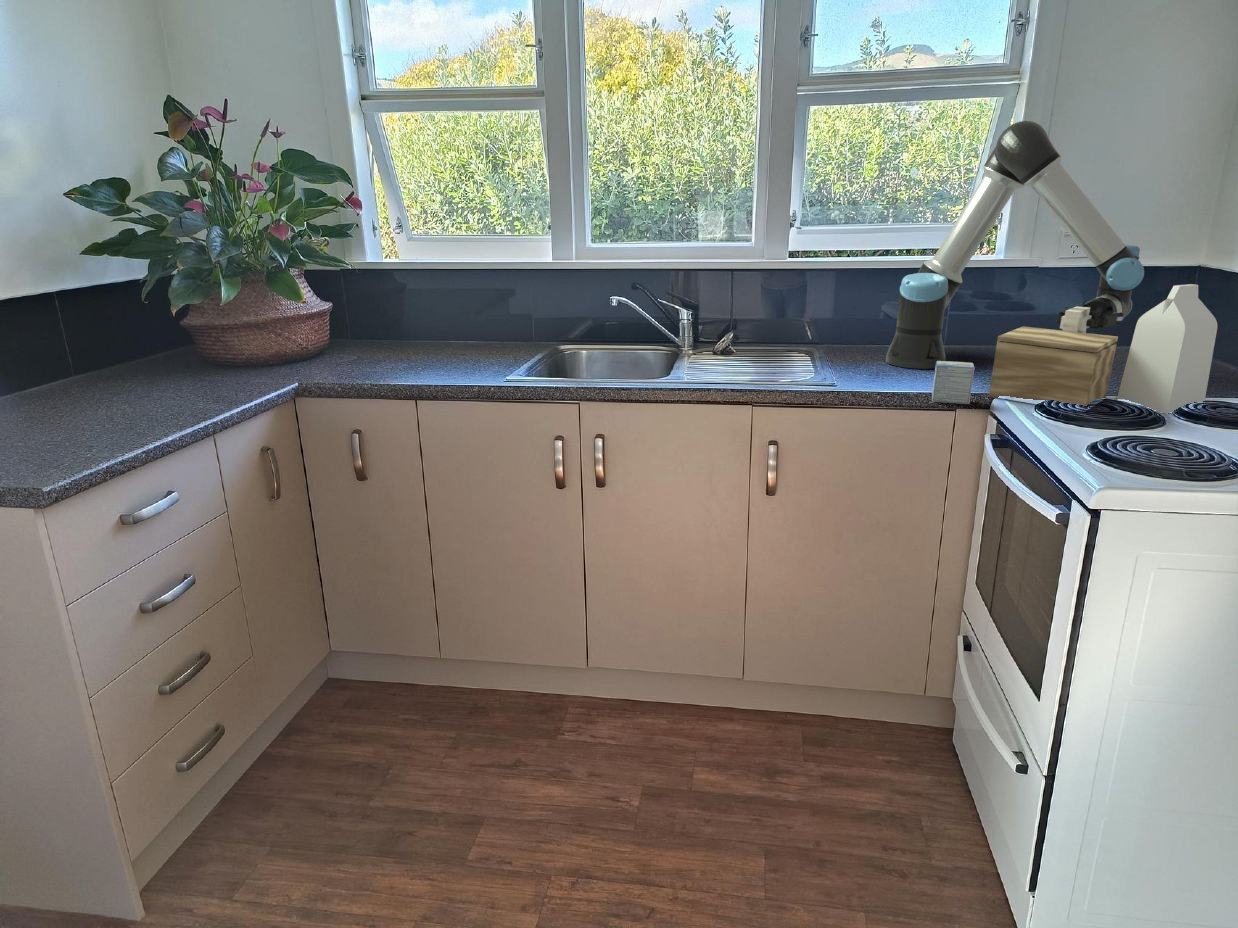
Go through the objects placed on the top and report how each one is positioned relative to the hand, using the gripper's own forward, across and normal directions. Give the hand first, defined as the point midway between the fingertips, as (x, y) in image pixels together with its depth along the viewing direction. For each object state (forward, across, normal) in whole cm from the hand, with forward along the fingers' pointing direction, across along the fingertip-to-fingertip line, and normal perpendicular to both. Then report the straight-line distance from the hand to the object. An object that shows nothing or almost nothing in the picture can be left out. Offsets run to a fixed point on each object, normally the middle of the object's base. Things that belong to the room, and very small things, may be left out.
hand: (1071, 323), depth 184 cm
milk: (-2, -20, -16) cm, 26 cm away
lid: (+5, 0, -5) cm, 7 cm away
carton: (+9, 0, -16) cm, 18 cm away
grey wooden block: (+26, +15, -16) cm, 34 cm away
